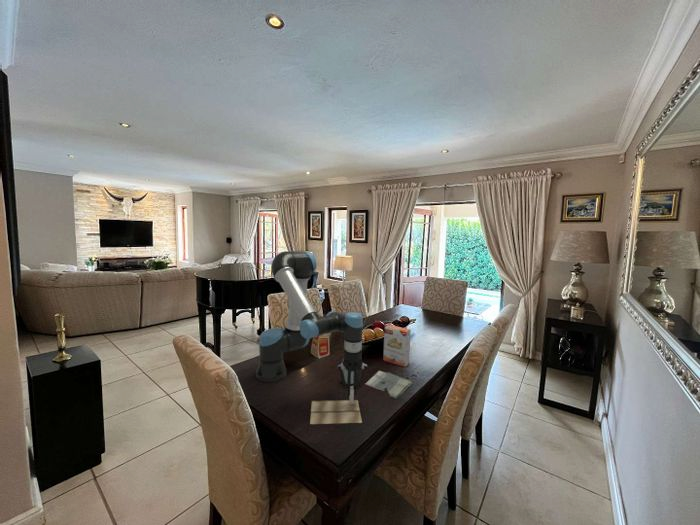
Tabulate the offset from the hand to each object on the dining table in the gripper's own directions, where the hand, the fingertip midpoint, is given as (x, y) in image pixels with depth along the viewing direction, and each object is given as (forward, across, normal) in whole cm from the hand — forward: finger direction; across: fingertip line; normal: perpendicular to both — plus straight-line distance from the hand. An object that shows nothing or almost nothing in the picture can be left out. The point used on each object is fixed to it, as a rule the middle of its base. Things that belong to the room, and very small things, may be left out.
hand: (351, 402), depth 125 cm
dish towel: (+3, +20, +16) cm, 26 cm away
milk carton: (+2, -14, +55) cm, 56 cm away
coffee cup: (+2, +1, +19) cm, 19 cm away
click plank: (+2, -7, -2) cm, 7 cm away
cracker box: (+2, +30, +42) cm, 51 cm away
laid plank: (+2, -7, -10) cm, 12 cm away
